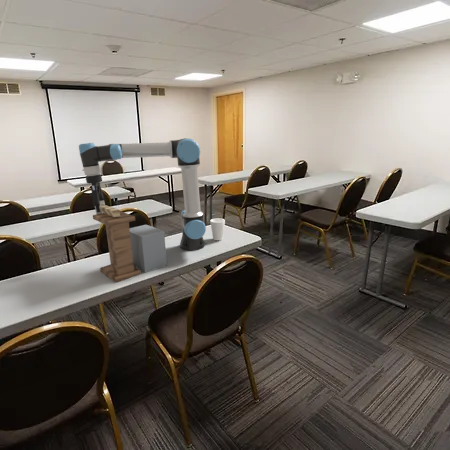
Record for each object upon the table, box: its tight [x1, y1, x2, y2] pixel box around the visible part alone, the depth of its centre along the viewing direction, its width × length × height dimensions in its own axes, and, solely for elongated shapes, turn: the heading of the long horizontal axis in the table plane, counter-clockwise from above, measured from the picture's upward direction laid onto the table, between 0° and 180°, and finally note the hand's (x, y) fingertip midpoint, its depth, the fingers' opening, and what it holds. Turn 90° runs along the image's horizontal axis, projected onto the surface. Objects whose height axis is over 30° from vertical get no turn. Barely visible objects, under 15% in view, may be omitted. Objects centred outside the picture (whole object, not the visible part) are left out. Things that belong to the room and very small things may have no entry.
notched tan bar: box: [100, 204, 121, 217], centre depth 157 cm, size 24×3×3 cm, turn 40°
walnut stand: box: [92, 210, 142, 283], centre depth 157 cm, size 18×13×30 cm
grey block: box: [129, 224, 168, 273], centre depth 169 cm, size 18×13×19 cm
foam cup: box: [209, 217, 226, 241], centre depth 206 cm, size 10×9×13 cm
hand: (102, 215), depth 165 cm, fingers open, 13 cm apart
